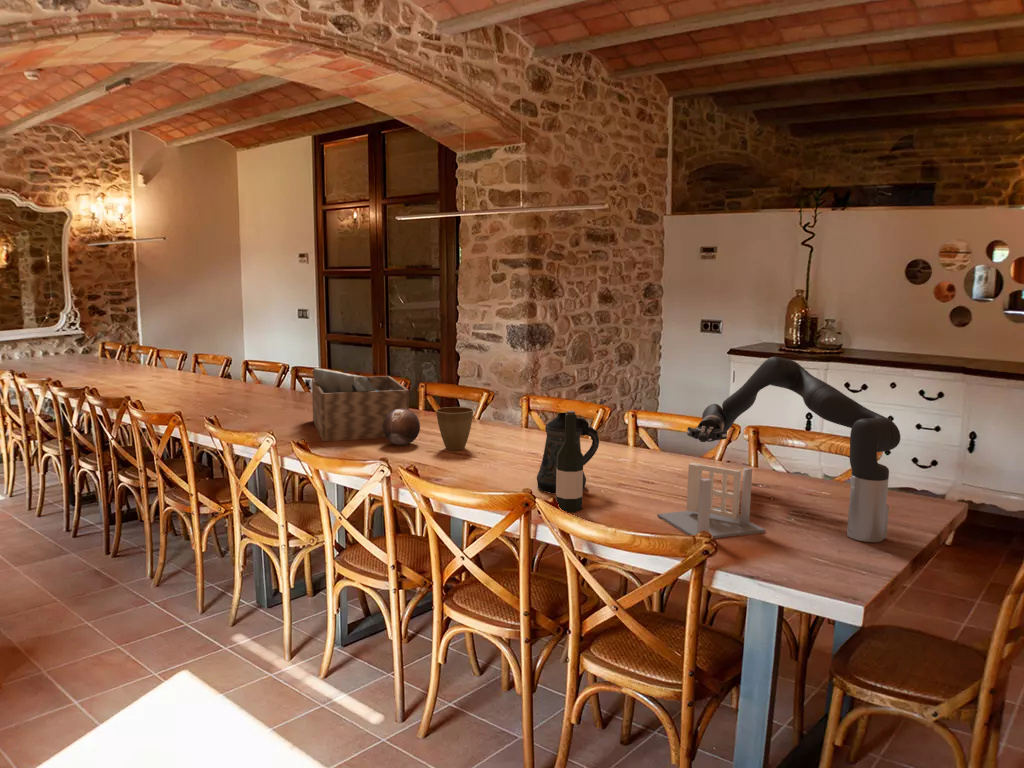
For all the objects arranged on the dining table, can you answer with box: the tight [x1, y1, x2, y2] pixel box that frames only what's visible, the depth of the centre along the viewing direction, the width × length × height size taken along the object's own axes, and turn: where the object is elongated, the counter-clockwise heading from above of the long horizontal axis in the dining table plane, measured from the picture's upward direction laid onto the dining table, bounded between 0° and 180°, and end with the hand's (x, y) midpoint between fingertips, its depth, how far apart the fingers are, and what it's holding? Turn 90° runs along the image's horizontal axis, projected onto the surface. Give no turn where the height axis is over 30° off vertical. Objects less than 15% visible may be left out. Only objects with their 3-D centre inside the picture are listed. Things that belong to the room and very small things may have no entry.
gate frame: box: [657, 467, 766, 539], centre depth 223 cm, size 22×22×17 cm
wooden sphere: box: [383, 408, 421, 446], centre depth 319 cm, size 15×15×15 cm
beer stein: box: [536, 412, 600, 494], centre depth 259 cm, size 16×19×25 cm
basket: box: [312, 367, 391, 393], centre depth 350 cm, size 40×31×28 cm
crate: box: [311, 375, 410, 442], centre depth 350 cm, size 36×45×20 cm
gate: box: [686, 461, 742, 519], centre depth 227 cm, size 15×3×14 cm, turn 54°
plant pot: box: [435, 406, 474, 452], centre depth 313 cm, size 15×15×16 cm
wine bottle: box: [555, 410, 584, 513], centre depth 236 cm, size 8×8×30 cm
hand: (702, 438), depth 240 cm, fingers closed
